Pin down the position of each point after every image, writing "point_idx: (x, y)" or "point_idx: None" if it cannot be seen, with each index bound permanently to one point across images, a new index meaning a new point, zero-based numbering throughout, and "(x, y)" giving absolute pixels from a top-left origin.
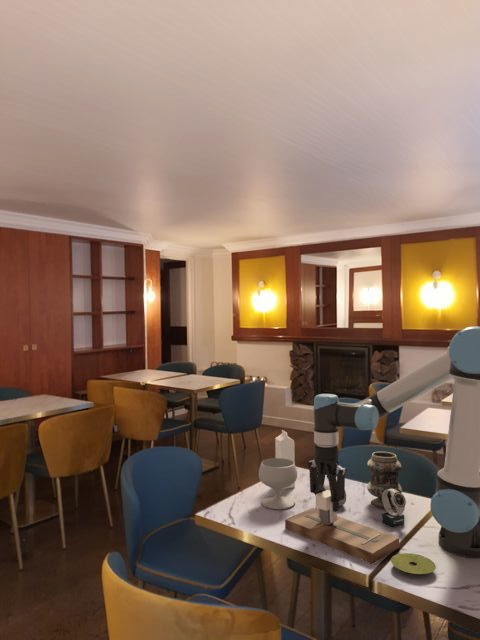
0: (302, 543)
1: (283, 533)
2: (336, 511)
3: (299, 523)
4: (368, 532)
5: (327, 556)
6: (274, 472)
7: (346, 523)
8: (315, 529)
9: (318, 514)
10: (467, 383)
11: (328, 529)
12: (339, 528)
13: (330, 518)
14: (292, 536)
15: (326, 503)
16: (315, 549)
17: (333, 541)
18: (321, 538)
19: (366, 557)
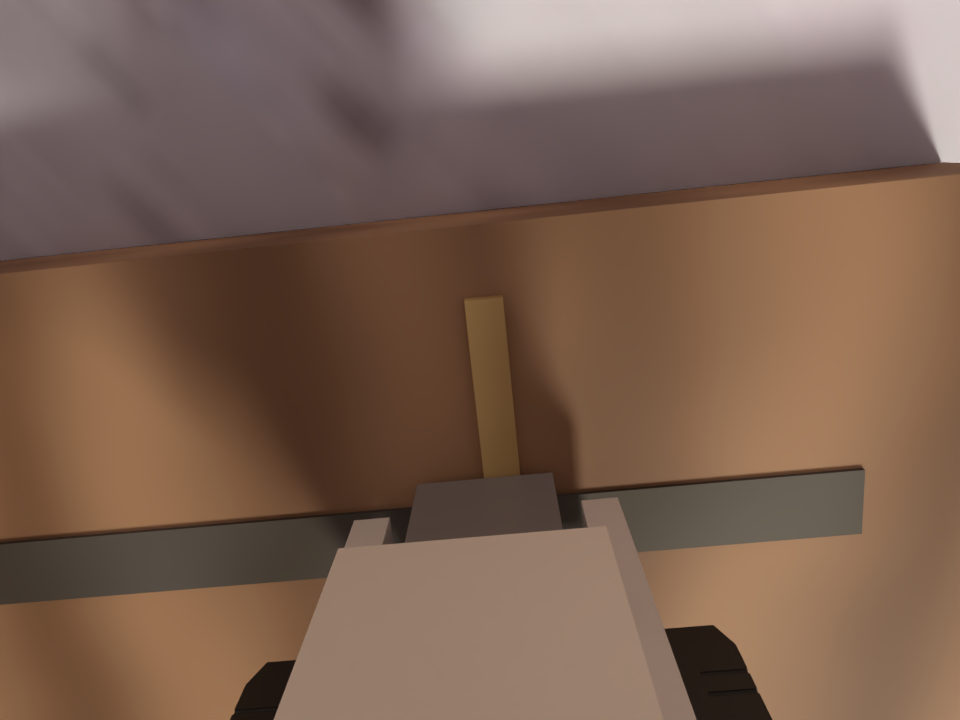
0: (480, 30)
1: (863, 37)
2: (266, 686)
3: (758, 235)
4: (9, 695)
5: (35, 26)
6: None
7: None
8: (453, 272)
9: (608, 527)
10: None
11: (344, 411)
12: (272, 531)
13: None
14: (713, 72)
15: (302, 656)
16: (257, 44)
17: (122, 257)
18: (321, 233)
19: None
